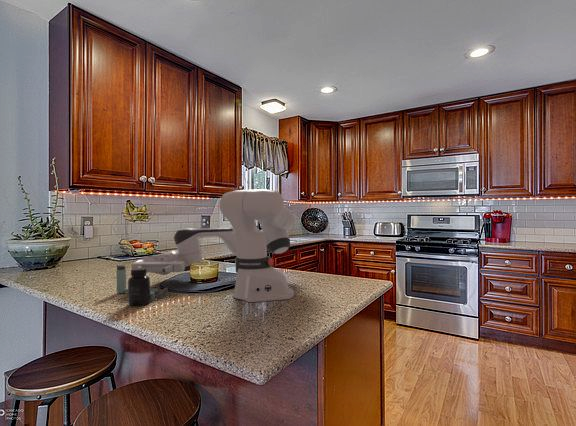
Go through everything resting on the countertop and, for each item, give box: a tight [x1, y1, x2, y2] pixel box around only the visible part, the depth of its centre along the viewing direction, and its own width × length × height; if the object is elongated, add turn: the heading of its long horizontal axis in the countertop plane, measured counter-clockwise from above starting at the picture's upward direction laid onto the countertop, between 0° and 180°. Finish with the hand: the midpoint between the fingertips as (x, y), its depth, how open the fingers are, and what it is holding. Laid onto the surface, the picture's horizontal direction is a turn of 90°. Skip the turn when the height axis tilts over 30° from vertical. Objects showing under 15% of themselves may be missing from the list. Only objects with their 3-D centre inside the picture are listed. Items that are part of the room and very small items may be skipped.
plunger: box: [115, 264, 159, 301], centre depth 120 cm, size 18×13×10 cm
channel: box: [156, 287, 169, 300], centre depth 120 cm, size 10×8×2 cm
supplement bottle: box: [127, 268, 151, 307], centre depth 111 cm, size 7×7×12 cm
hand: (151, 270), depth 123 cm, fingers open, 8 cm apart
